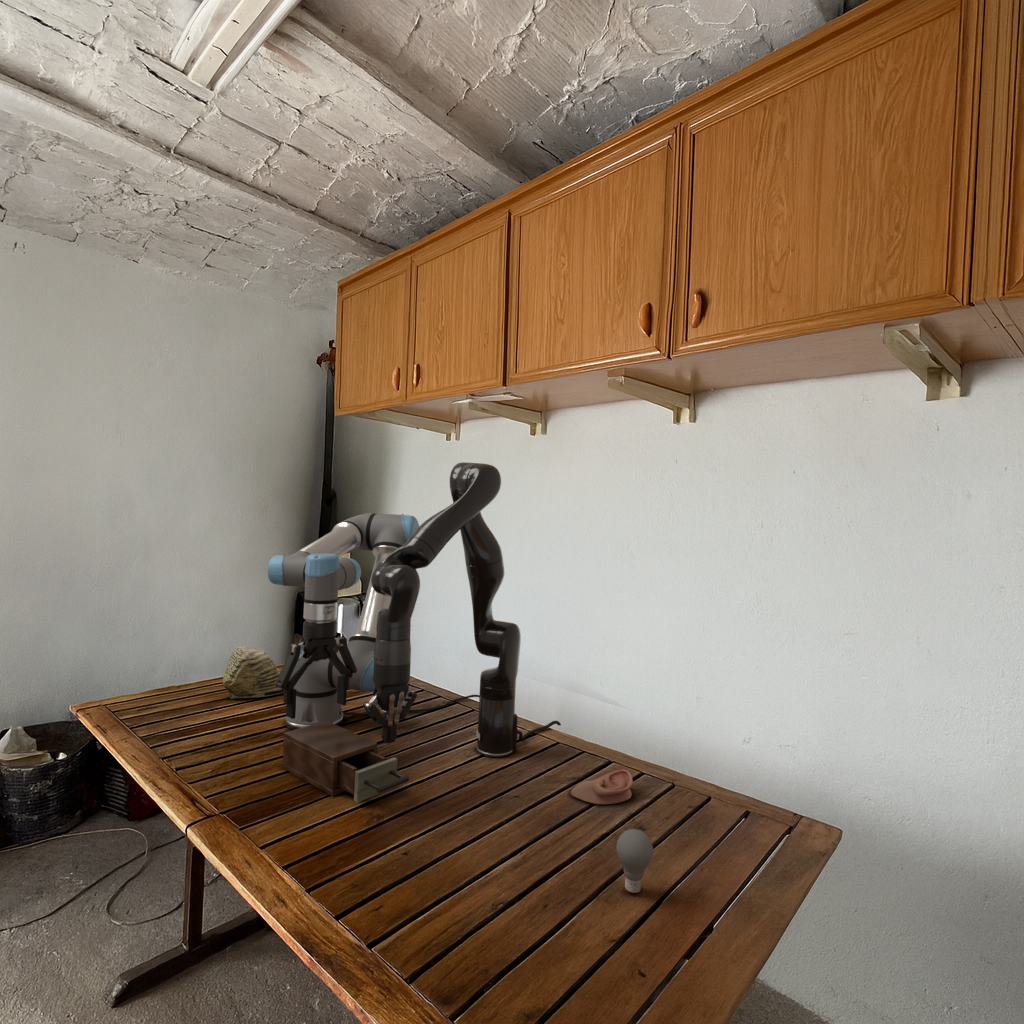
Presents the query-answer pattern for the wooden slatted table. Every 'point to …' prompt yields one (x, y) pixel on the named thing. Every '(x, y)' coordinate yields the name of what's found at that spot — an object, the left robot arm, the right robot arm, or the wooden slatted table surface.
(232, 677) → the fossil
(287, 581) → the left robot arm
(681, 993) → the wooden slatted table surface
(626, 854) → the light bulb
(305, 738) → the cabinet
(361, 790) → the drawer
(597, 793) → the anatomical model
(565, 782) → the wooden slatted table surface
